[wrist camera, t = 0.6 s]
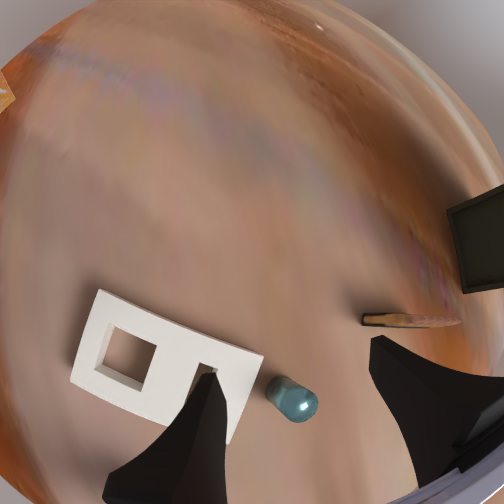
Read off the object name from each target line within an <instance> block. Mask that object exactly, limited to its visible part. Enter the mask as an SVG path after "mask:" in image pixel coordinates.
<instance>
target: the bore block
mask: <svg viewBox="0 0 504 504" xmlns="http://www.w3.org/2000/svg"><path fill="white" fill-rule="evenodd" d="M115 326H116V327H118V328H120V329H122V330H124V331H126V332H128V333H130V334H133V335H135V336H137V337H139V338H141V339H143V340H146V341H148V342H150V343H152V344H155V345H157V348H156V350H155V353H154V356H153V359H152V362H151V364H150V367H149V370H148V373H147V376H146V379H145V382H144V384H143V383H141V382H139V381H136V380H134V379H132V378H130V377H127V376H125V375H123V374H121V373H119V372H117V371H115V370H113V369H111V368H109V367H107V366H105V365H103V364H102V363H103V360H104V357H105V353H106V350H107V347H108V344H109V341H110V338H111V335H112V332H113V330H114V327H115ZM263 358H264V356H262V355H260V354H258V353H257V352H254V351H251V350H248V349H245V348H242V347H239V346H236V345H234V344H231V343H228V342H225V341H222V340H220V339H217V338H214V337H212V336H209V335H206V334H204V333H201V332H199V331H196V330H194V329H191V328H189V327H186V326H184V325H181V324H179V323H176V322H174V321H172V320H169V319H167V318H165V317H162V316H160V315H158V314H155V313H153V312H151V311H149V310H146V309H144V308H142V307H140V306H138V305H136V304H133V303H131V302H129V301H127V300H125V299H123V298H121V297H119V296H117V295H115V294H113V293H111V292H109V291H106V290H102V289H99V290H98V293H97V295H96V298H95V301H94V303H93V306H92V309H91V312H90V314H89V317H88V320H87V323H86V326H85V329H84V332H83V335H82V339H81V342H80V345H79V348H78V352H77V355H76V359H75V362H74V366H73V370H72V374H71V378H70V382H72V383H74V384H76V385H77V386H79V387H81V388H83V389H85V390H86V391H88V392H90V393H92V394H94V395H96V396H98V397H100V398H102V399H104V400H106V401H108V402H110V403H112V404H114V405H116V406H118V407H120V408H123V409H125V410H127V411H129V412H132V413H134V414H136V415H139V416H141V417H144V418H146V419H149V420H151V421H154V422H156V423H159V424H162V425H165V426H167V427H168V426H169V425H170V424H171V423H172V421H173V420H174V419H175V417H176V416H177V414H178V413H179V412H180V410H181V409H182V407H183V406H184V404H185V402H186V401H187V400H185V399H186V397H187V394H188V391H189V389H190V386H191V383H192V381H193V378H194V375H195V373H196V370H197V367H198V365H199V362H200V363H203V364H206V365H208V366H211V367H213V370H212V372H211V373H213V372H216V375H217V378H218V380H219V383H220V386H221V388H222V391H223V393H224V396H225V399H226V401H227V417H228V422H227V435H226V444H229V442H230V440H231V438H232V435H233V433H234V431H235V428H236V426H237V424H238V421H239V419H240V416H241V414H242V411H243V409H244V407H245V404H246V402H247V399H248V397H249V394H250V392H251V389H252V387H253V384H254V381H255V379H256V376H257V374H258V371H259V368H260V366H261V363H262V361H263Z"/></svg>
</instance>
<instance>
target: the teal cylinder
mask: <svg viewBox="0 0 504 504" xmlns="http://www.w3.org/2000/svg"><path fill="white" fill-rule="evenodd" d="M266 396H267V398H268V399H269V401H270V402H271V403H272V404H273V405H274V406H275V407H276V408H277V409H278V410H279V411H280V412H281V413H282V414H284V415H285V416H286V417H287V418H288V419H289V420H290V421H292V422H297V423H299V422H304V421H306V420H308V419H310V418H311V417H312V416H313V415H314V414H315V412H316V410H317V408H318V399H317V396H316V395H315V394H314V393H313V392H311V391H310V390H308V389H306V388H304V387H303V386H301V385H299V384H298V383H296V382H294V381H293V380H291V379H290V378H288V377H284V376H281V377H277V378H274V379H273V380H272V381H271V382H270V383H269V384H268V386H267V388H266Z"/></svg>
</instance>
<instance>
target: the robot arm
mask: <svg viewBox="0 0 504 504" xmlns="http://www.w3.org/2000/svg"><path fill="white" fill-rule="evenodd" d="M369 372H370V374H371V377H372V379H373V381H374V384H375V386H376V388H377V390H378V391H379V393H380V395H381V396H382V398H383V400H384V401H385V403H386V404H387V406H388V408H389V409H390V411H391V413H392V414H393V416H394V418H395V420H396V421H397V423H398V425H399V428H400V430H401V432H402V435H403V437H404V440H405V442H406V445H407V448H408V451H409V453H410V456H411V460H412V463H413V466H414V470H415V473H416V477H417V481H418V486H419V489H418V490H416V491H414V492H412V493H410V494H408V495H406V496H403V497H401V498H399V499H397V500H394V501H392V502H389V503H387V504H482V503H483V502H485V501H486V500H487V499H489V498H490V497H491V496H492V495H494V494H495V493H496V492H497V491H498V490H499V489H500V488H502V487H503V486H504V377H488V376H480V375H473V374H468V373H464V372H460V371H456V370H452V369H449V368H447V367H444V366H441V365H438V364H436V363H433V362H431V361H429V360H427V359H425V358H423V357H421V356H419V355H417V354H415V353H413V352H411V351H409V350H408V349H406V348H404V347H402V346H401V345H399V344H397V343H396V342H394V341H392V340H391V339H389V338H387V337H385V336H384V335H380V336H377V337H374V338H371V346H370V360H369ZM227 422H228V417H227V401H226V399H225V396H224V393H223V391H222V388H221V386H220V383H219V380H218V378H217V375H216V372H213V373H205V374H202V375H201V377H200V378H199V380H198V382H197V384H196V386H195V387H194V389H193V391H192V393H191V394H190V396H189V398H188V399H187V401H186V402H185V404H184V406H183V407H182V409H181V410H180V412H179V413H178V414H177V416H176V417H175V419H174V420H173V421H172V423H171V424H170V425H169V426H168V428H167V429H166V430H165V431H164V432H163V433H162V434H161V435H160V436H159V438H158V439H156V440H155V441H154V442H153V443H152V444H151V445H150V446H149V447H148V448H147V449H146V450H145V451H143V452H142V453H141V454H140V455H138V456H137V457H136V458H134V459H133V460H131V461H130V462H128V463H127V464H125V465H124V466H122V467H120V468H119V469H117V470H115V471H113V472H111V473H110V474H109V476H108V478H107V481H106V484H105V488H104V491H103V495H102V499H103V500H104V502H105V503H107V504H227V495H226V483H225V448H226V435H227ZM424 502H425V503H424Z"/></svg>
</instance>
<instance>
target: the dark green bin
mask: <svg viewBox="0 0 504 504" xmlns="http://www.w3.org/2000/svg"><path fill="white" fill-rule="evenodd" d="M446 211H447V215H448V218H449V222H450V226H451V230H452V234H453V238H454V243H455V247H456V252H457V257H458V262H459V268H460V274H461V280H462V287H463V294H468V293H474V292H481V291H487V290H493V289H499V288H504V184H502V185H500V186H498V187H496V188H494V189H492V190H490V191H488V192H486V193H483V194H481V195H479V196H477V197H475V198H473V199H470V200H468V201H466V202H464V203H462V204H459V205H457V206H455V207H453V208H450V209H448V210H446Z"/></svg>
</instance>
